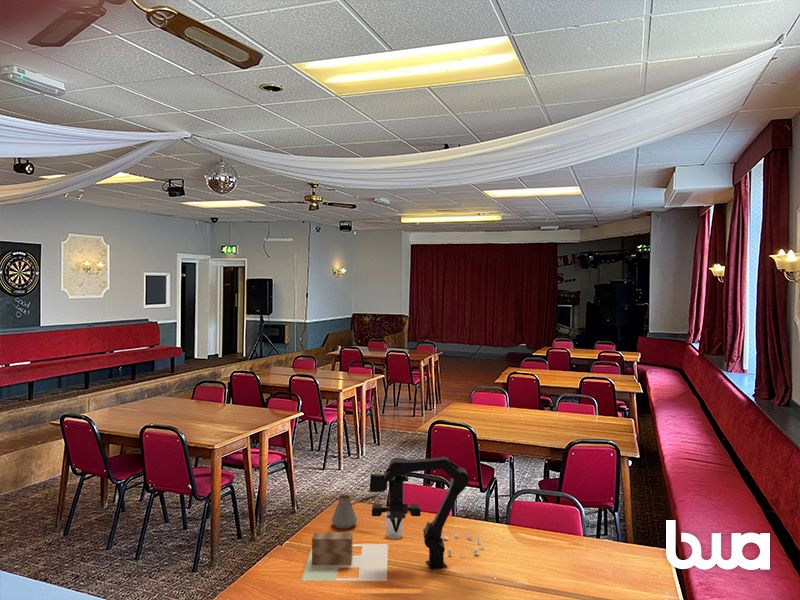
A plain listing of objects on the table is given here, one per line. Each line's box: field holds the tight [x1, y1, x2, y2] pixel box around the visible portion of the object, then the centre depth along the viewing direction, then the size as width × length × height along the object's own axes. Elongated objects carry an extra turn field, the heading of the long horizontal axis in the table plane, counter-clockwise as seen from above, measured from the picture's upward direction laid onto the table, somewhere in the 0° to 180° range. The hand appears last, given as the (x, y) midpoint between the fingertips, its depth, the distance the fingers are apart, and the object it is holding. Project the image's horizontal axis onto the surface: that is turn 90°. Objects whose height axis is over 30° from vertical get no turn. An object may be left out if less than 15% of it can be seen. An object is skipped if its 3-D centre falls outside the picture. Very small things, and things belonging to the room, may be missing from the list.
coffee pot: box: [331, 494, 379, 530], centre depth 263 cm, size 21×12×15 cm, turn 79°
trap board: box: [301, 543, 389, 582], centre depth 227 cm, size 31×30×2 cm
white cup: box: [384, 512, 404, 540], centre depth 253 cm, size 8×8×10 cm
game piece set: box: [442, 531, 485, 558], centre depth 243 cm, size 19×20×4 cm
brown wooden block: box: [311, 531, 353, 565], centre depth 226 cm, size 15×6×10 cm, turn 90°
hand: (396, 531), depth 226 cm, fingers closed
